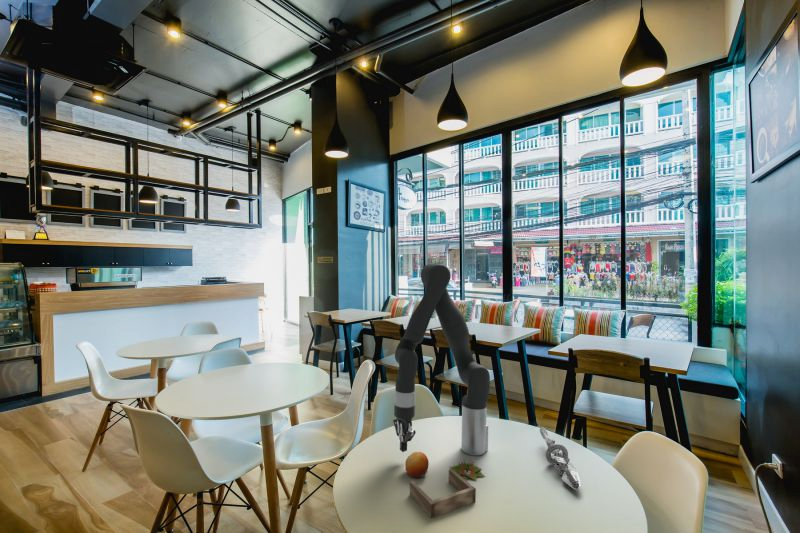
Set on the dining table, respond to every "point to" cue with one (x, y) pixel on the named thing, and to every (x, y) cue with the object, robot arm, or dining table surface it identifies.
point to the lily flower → (467, 467)
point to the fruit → (417, 464)
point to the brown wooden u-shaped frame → (447, 502)
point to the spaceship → (561, 461)
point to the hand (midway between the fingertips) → (403, 450)
